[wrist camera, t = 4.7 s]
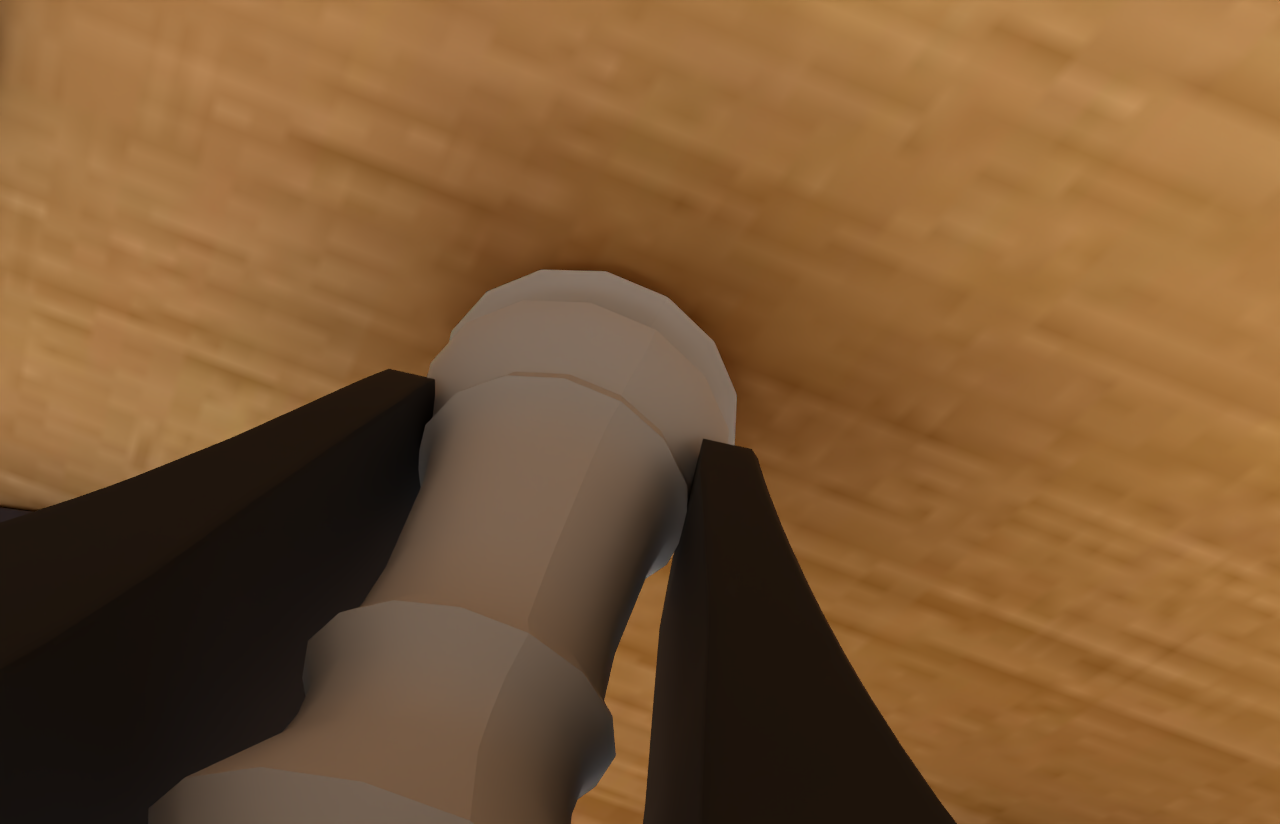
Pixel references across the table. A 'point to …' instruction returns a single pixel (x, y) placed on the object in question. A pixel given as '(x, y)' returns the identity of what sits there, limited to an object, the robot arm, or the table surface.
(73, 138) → the table surface
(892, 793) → the robot arm
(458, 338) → the rook chess piece
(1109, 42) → the table surface
